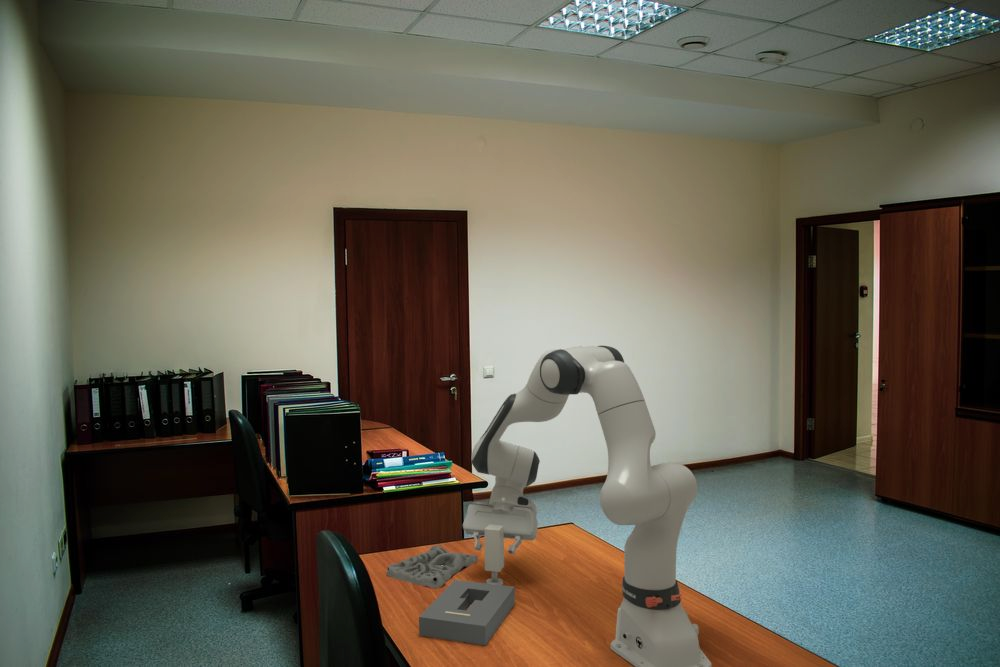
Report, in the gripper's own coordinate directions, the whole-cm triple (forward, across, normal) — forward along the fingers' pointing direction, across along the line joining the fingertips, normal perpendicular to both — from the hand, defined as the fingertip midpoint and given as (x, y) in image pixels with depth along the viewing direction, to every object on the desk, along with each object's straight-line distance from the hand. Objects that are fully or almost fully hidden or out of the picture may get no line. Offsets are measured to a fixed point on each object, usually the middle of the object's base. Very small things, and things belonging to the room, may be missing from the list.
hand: (494, 551), depth 187 cm
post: (+7, 0, +7) cm, 10 cm away
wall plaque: (+2, -20, +13) cm, 24 cm away
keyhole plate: (+20, 0, -6) cm, 21 cm away
